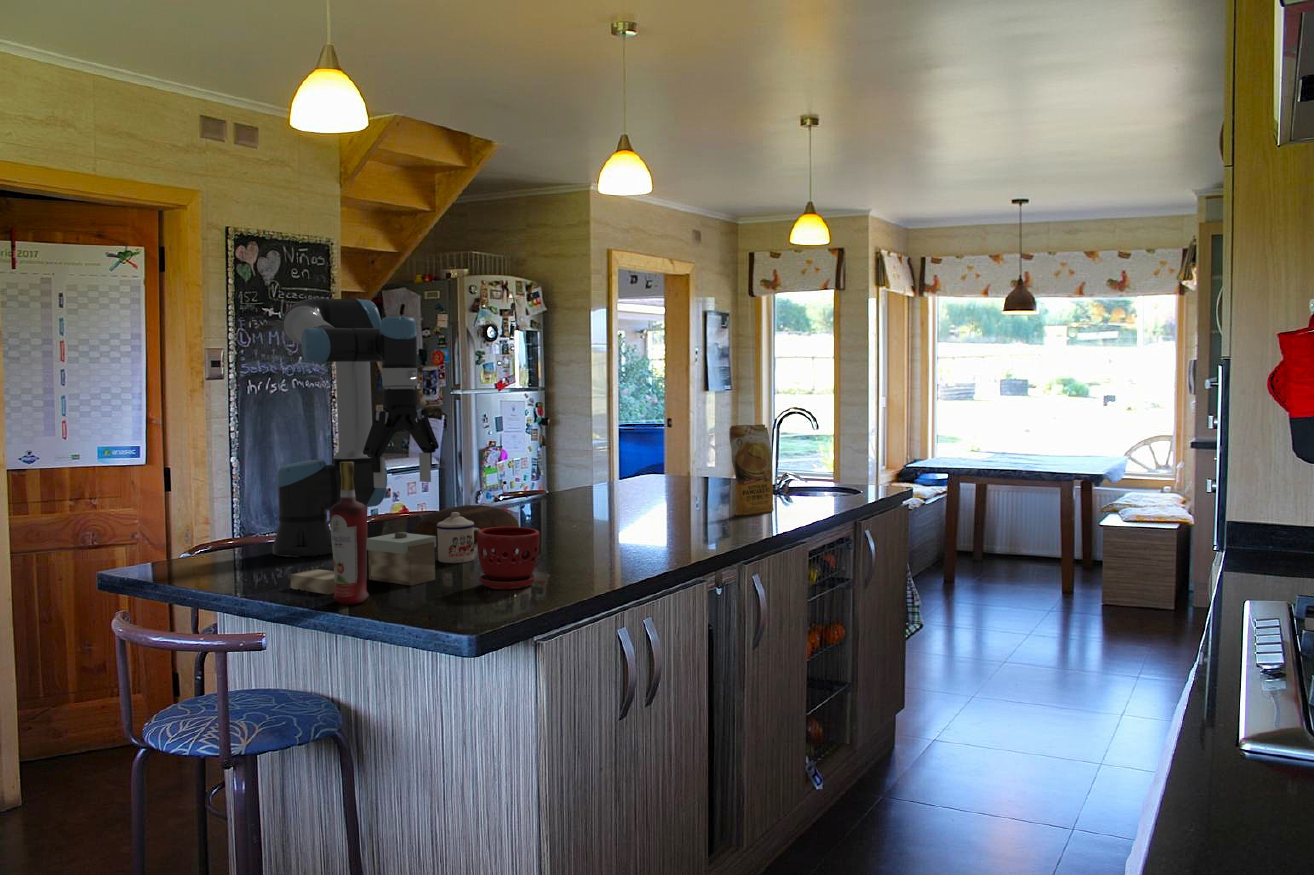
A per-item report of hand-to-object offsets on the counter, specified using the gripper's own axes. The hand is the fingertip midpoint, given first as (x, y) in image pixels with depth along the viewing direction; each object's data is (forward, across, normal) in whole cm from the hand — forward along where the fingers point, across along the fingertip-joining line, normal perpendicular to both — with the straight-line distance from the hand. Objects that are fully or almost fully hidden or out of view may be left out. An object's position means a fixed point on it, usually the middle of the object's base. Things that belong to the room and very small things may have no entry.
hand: (403, 484), depth 230 cm
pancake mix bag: (+21, +130, -20) cm, 133 cm away
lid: (+14, -1, 0) cm, 14 cm away
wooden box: (+21, -1, 0) cm, 21 cm away
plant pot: (+21, +6, -25) cm, 33 cm away
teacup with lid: (+21, +24, +6) cm, 33 cm away
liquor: (+21, -22, -8) cm, 32 cm away
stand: (+21, -16, +8) cm, 27 cm away
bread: (+21, +52, +29) cm, 64 cm away
